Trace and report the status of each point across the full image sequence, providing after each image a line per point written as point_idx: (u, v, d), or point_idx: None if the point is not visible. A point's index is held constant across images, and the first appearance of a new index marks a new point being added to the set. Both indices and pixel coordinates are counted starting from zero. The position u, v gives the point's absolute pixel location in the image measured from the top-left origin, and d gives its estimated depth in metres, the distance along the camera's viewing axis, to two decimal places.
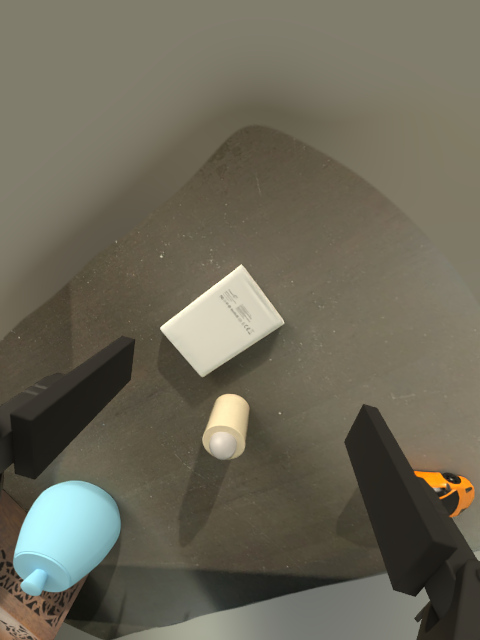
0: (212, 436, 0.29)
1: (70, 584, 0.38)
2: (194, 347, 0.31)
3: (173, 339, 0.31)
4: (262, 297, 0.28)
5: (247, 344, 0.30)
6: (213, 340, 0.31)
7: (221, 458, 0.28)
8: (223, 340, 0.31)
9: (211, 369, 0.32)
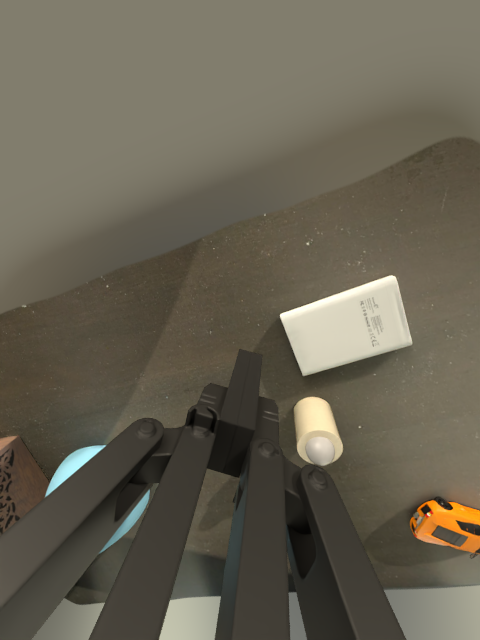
0: (312, 439, 0.29)
1: None
2: (309, 345, 0.30)
3: (290, 332, 0.30)
4: (403, 314, 0.27)
5: (366, 355, 0.29)
6: (332, 343, 0.29)
7: (321, 464, 0.28)
8: (343, 345, 0.29)
9: (316, 370, 0.31)
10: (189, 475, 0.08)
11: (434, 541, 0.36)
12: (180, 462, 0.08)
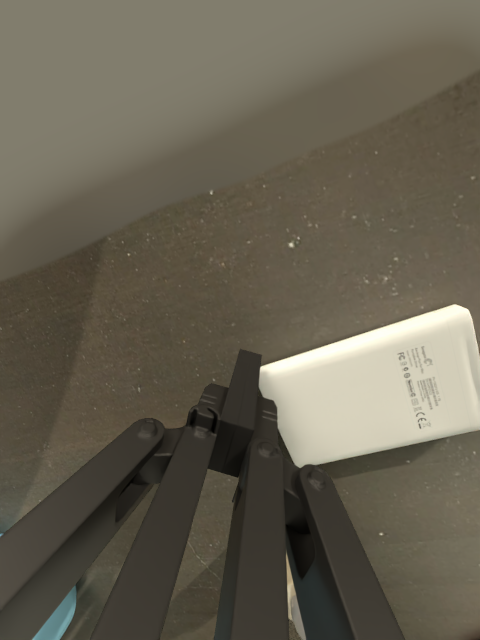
0: None
1: None
2: (306, 423, 0.17)
3: None
4: None
5: (406, 442, 0.17)
6: (347, 421, 0.17)
7: None
8: (365, 426, 0.17)
9: (320, 462, 0.18)
10: (190, 475, 0.08)
11: None
12: (181, 463, 0.08)
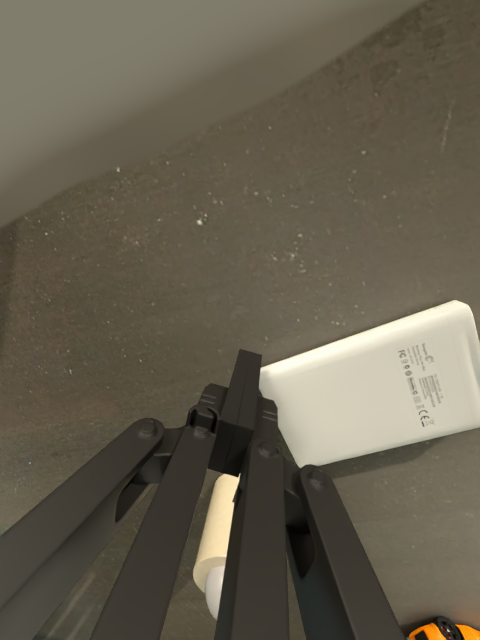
0: (215, 572, 0.16)
1: None
2: (308, 424, 0.17)
3: None
4: None
5: (410, 440, 0.17)
6: (349, 421, 0.17)
7: None
8: (368, 425, 0.17)
9: (323, 463, 0.18)
10: (190, 475, 0.08)
11: None
12: (181, 463, 0.08)
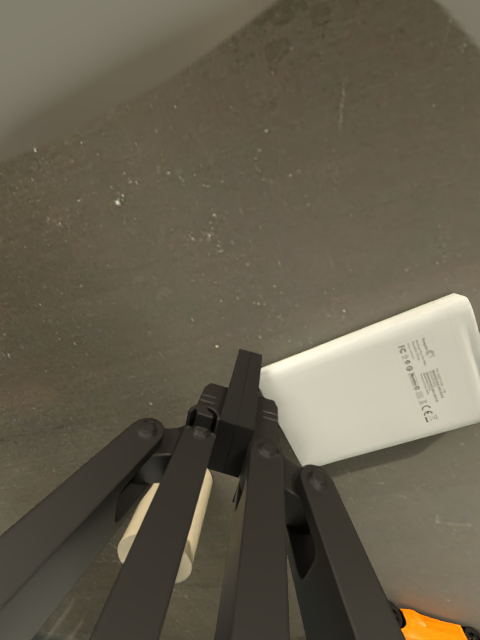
0: None
1: None
2: (310, 423, 0.17)
3: None
4: None
5: (414, 436, 0.16)
6: (351, 418, 0.17)
7: None
8: (371, 422, 0.16)
9: (327, 462, 0.18)
10: (189, 475, 0.08)
11: None
12: (181, 462, 0.08)
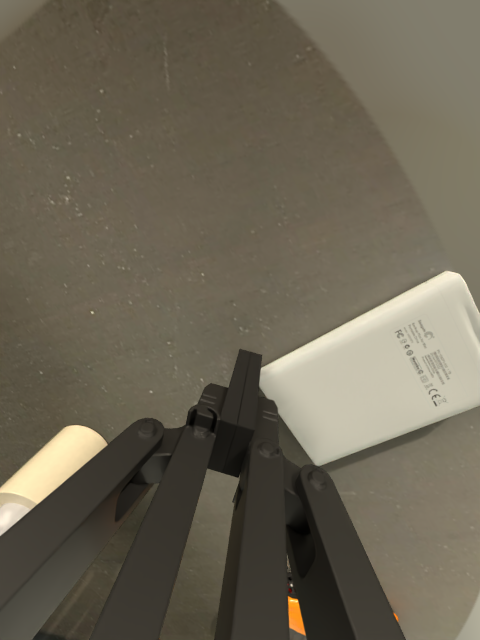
0: None
1: None
2: (316, 418, 0.17)
3: (278, 401, 0.17)
4: None
5: (425, 422, 0.16)
6: (357, 410, 0.16)
7: None
8: (378, 412, 0.16)
9: (339, 457, 0.18)
10: (189, 475, 0.08)
11: None
12: (181, 463, 0.08)
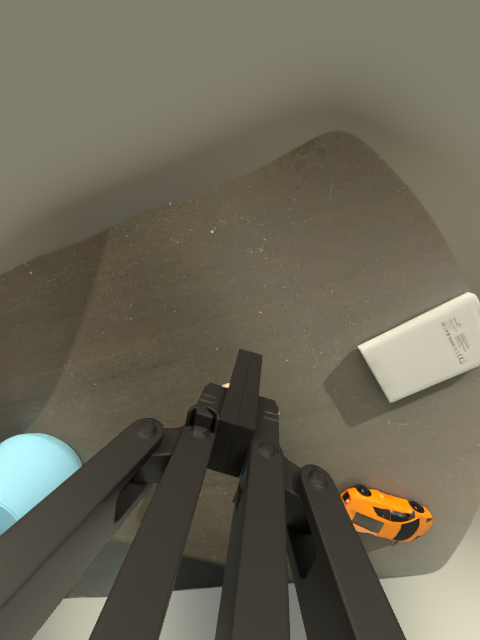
0: None
1: None
2: (393, 372, 0.30)
3: (372, 362, 0.30)
4: None
5: (454, 373, 0.29)
6: (417, 367, 0.29)
7: None
8: (429, 368, 0.29)
9: (404, 396, 0.31)
10: (189, 475, 0.08)
11: None
12: (180, 462, 0.08)
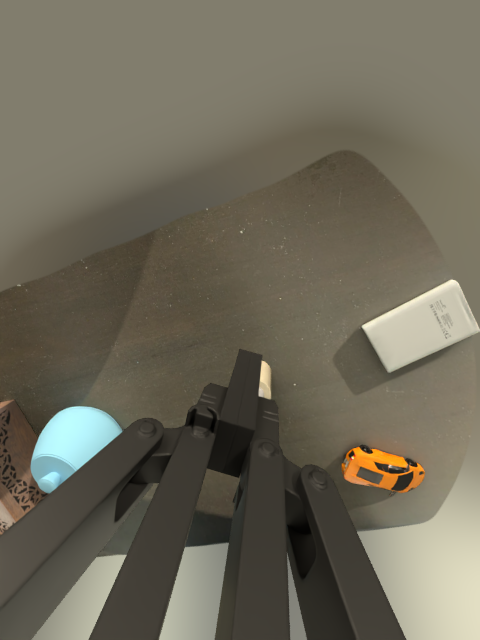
0: None
1: None
2: (391, 347, 0.36)
3: (373, 339, 0.36)
4: (468, 308, 0.34)
5: (441, 346, 0.36)
6: (411, 342, 0.36)
7: None
8: (420, 342, 0.36)
9: (400, 366, 0.37)
10: (189, 475, 0.08)
11: (359, 482, 0.44)
12: (180, 462, 0.08)
